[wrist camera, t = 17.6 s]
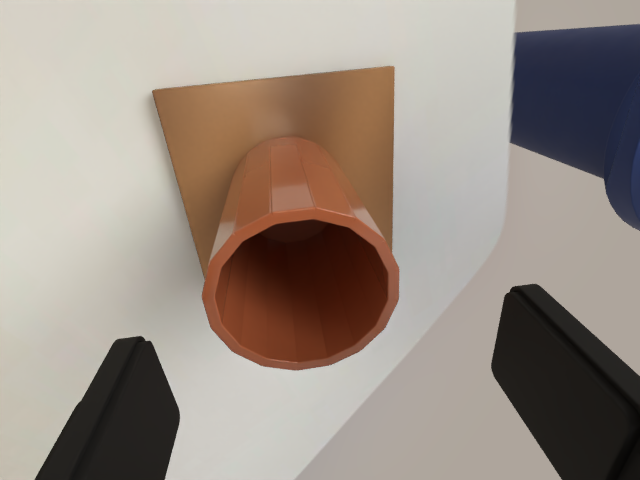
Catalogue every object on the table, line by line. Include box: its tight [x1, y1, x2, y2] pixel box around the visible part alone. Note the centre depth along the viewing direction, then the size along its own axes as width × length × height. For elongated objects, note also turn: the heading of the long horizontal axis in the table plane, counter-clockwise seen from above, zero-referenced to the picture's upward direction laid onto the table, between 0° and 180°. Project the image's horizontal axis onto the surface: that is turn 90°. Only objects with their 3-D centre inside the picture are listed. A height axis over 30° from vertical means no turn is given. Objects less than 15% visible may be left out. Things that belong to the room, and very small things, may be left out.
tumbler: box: [202, 136, 399, 370], centre depth 16 cm, size 6×6×10 cm
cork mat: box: [152, 66, 394, 278], centre depth 21 cm, size 12×12×1 cm
